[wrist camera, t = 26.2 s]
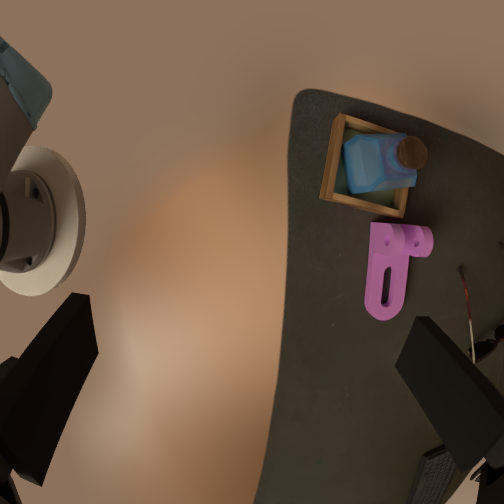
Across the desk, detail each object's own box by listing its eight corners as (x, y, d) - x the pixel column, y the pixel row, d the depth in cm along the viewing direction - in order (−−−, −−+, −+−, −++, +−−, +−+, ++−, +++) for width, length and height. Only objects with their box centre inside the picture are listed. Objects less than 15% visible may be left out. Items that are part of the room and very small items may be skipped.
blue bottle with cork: (339, 146, 35) (379, 120, 23) (382, 143, 35) (432, 120, 23) (348, 194, 36) (392, 188, 24) (391, 189, 36) (444, 183, 24)
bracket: (370, 221, 37) (395, 224, 30) (406, 224, 37) (434, 227, 31) (362, 317, 39) (382, 337, 32) (396, 316, 39) (420, 333, 32)
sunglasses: (459, 355, 41) (475, 365, 36) (447, 269, 39) (466, 274, 34) (508, 319, 40) (524, 326, 35) (499, 239, 39) (518, 241, 34)
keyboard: (431, 510, 49) (434, 514, 47) (397, 525, 49) (399, 529, 47) (463, 434, 44) (468, 439, 42) (422, 454, 44) (426, 459, 42)
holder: (318, 198, 37) (325, 197, 34) (332, 120, 35) (340, 112, 32) (392, 217, 37) (403, 218, 34) (403, 143, 36) (414, 139, 33)
